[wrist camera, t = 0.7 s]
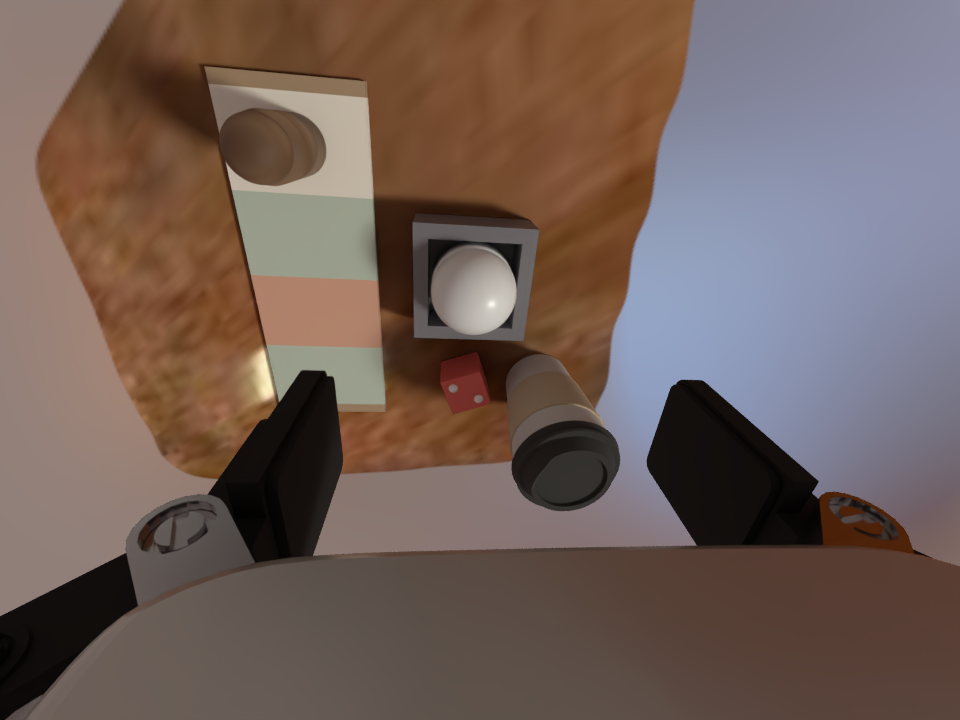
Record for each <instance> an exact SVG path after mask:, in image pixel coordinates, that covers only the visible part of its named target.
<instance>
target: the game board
mask: <svg viewBox="0 0 960 720" xmlns="http://www.w3.org/2000/svg"><path fill="white" fill-rule="evenodd" d="M204 67H205V71H206V76H207V80H208V85H209V89H210V94H211V98H212V103H213V107H214V112H215V116H216V121H217V125H218V130H219V133H220V129H221V127H222V125H223V123H224V122H225V121H226V119H227V118H229V117H230V116H231V115H233V114H235V113H238V112H242V111H244V110H246V109H250V108H263V109H271V110H280V111H288V112H295V113H299V114H302V115H304V116H306V117H307V118H309V119H310V120H311V121H312V122H313V123H314V124H315V125H316V126H317V127H318V128H319V130H320V131H321V133H322V135H323V138H324V140H325V144H326V159H325V162H324V164H323V166H322V168H321V169H320V170H319V171H318V172H317V173H315V174H314V175H312V176H309V177H305V178H302V179H299V180H296V181H293V182H290V183H287V184H284V185H281V186H268V185H258V184H254V183H251V182H248V181H246V180H244V179H243V178H241V177H240V176H238V175H237V174H236V173H235V172H234V171H233V170H232V169H231V168H230V167H229V166H228V164H227V163H226V166H227V170H228V175H229V179H230V183H231V188H232V192H233V197H234V201H235V206H236V210H237V215H238V219H239V224H240V228H241V233H242V237H243V242H244V246H245V251H246V255H247V260H248V264H249V269H250V273H251V278H252V282H253V287H254V291H255V296H256V300H257V304H258V309H259V313H260V318H261V322H262V327H263V331H264V336H265V340H266V345H267V349H268V354H269V358H270V363H271V367H272V372H273V376H274V381H275V385H276V390H277V394H278V399H279V402H280V400H281V399H282V398H283V396H284V395H285V393H286V392H287V390H288V389H289V387H290V386H291V384H292V383H293V381H294V380H295V378H296V377H297V375H298V374H299V373H300V371H301V370H320V371H325V372H326V373H327V376H333V377H334V381H335V389H336V398H337V407H338V411H358V412H385V411H386V399H385V382H384V365H383V348H382V331H381V313H380V296H379V279H378V262H377V245H376V228H375V211H374V193H373V176H372V159H371V142H370V125H369V108H368V91H367V82H366V81H357V80H346V79H335V78H325V77H314V76H303V75H292V74H282V73H271V72H260V71H249V70H239V69H228V68H217V67H206V66H204Z"/></svg>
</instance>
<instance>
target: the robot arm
mask: <svg viewBox="0 0 960 720" xmlns="http://www.w3.org/2000/svg"><path fill="white" fill-rule="evenodd" d="M342 465H343V453H342V443H341V434H340V425H339V416H338V407H337V398H336V389H335V381H334V377H333V376H327V373H326V372H325V371H320V370H301V371H300V373H299V374H298V375H297V377H296V378H295V380H294V381H293V383H292V384H291V386H290V387H289V389H288V390H287V392H286V393H285V395H284V396H283V398H282V399H281V400H280V402H279V403H278V405H277V406H276V408H275V409H274V411H273V412H272V414H271V415H270V417H269V418H268V419H264V420H261V421H260V422H259V423H258V424H257V425H256V427H255V428H254V430H253V431H252V432H251V434H250V435H249V437H248V438H247V440H246V441H245V442H244V444H243V445H242V447H241V448H240V449H239V451H238V452H237V454H236V455H235V457H234V458H233V459H232V461H231V462H230V464H229V465H228V466H227V468H226V469H225V471H224V472H223V473H222V475H221V476H220V478H219V479H218V481H217V482H216V483H215V485H214V486H213V488H212V489H211V491H210V492H209V493H208V495H200V494H198V495H191V496H185V497H181V498H178V499H175V500H172V501H170V502H168V503H166V504H164V505H162V506H160V507H158V508H156V509H154V510H153V511H151V512H150V513H149V514H147V515H146V516H145V517H143V518H142V519H141V520H140V521H139V522H138V523H137V524H136V525H135V526H134V527H133V528H132V530H131V532H130V534H129V536H128V537H127V539H126V553H125V554H123V555H121V556H119V557H117V558H115V559H113V560H111V561H109V562H107V563H105V564H103V565H101V566H99V567H97V568H95V569H93V570H91V571H89V572H87V573H86V574H83V575H81V576H79V577H78V578H75V579H73V580H71V581H69V582H68V583H66V584H63V585H62V586H59V587H58V588H56V589H54V590H52V591H50V592H48V593H46V594H44V595H42V596H40V597H38V598H36V599H34V600H32V601H30V602H28V603H26V604H24V605H22V606H20V607H18V608H16V609H14V610H12V611H10V612H8V613H6V614H4V615H2V616H0V720H960V566H957V565H954V564H951V563H947V562H943V561H940V560H936V559H933V558H931V557H929V556H927V555H925V554H922V553H920V552H918V551H916V550H913V548H912V545H911V542H910V539H909V536H908V534H907V532H906V531H905V529H904V528H903V527H902V526H901V524H899V522H897V521H896V519H894V518H893V517H892V516H890V515H889V514H887V513H886V512H885V511H884V510H882V509H880V508H879V507H877V506H875V505H873V504H871V503H870V502H867V501H865V500H863V499H861V498H858V497H855V496H852V495H849V494H846V493H840V492H826V493H824V494H822V495H821V496H820V498H819V499H817V497H815V496H814V495H813V494H812V492H813V490H814V489H815V487H816V485H817V484H818V480H817V479H815V478H814V477H813V476H812V475H811V474H810V473H809V472H807V471H806V470H805V469H804V468H803V467H802V466H800V465H799V464H798V463H797V462H796V461H795V460H793V459H792V458H791V457H790V456H789V455H788V454H787V453H786V452H784V451H783V450H782V449H781V448H780V447H779V446H778V445H776V444H775V443H774V442H773V441H772V440H771V439H770V438H768V437H767V436H766V435H765V434H764V433H763V432H761V431H760V430H759V429H758V428H757V427H756V426H754V425H753V424H752V423H751V422H750V421H749V420H748V419H746V418H745V417H744V416H743V415H742V414H741V413H740V412H739V411H737V410H736V409H735V408H734V407H733V406H732V405H730V404H729V403H728V402H727V401H726V400H725V399H724V398H723V397H721V396H720V395H719V394H718V393H717V392H716V391H714V390H713V389H712V388H711V387H710V386H709V385H708V384H706V383H705V382H704V381H702V380H680V381H678V382H677V384H676V385H673V386H672V387H671V389H670V392H669V394H668V397H667V400H666V403H665V406H664V409H663V412H662V415H661V418H660V421H659V424H658V427H657V430H656V433H655V436H654V439H653V442H652V445H651V448H650V451H649V454H648V457H647V467H648V470H649V472H650V473H651V475H652V476H653V478H654V479H655V481H656V483H657V484H658V486H659V487H660V489H661V490H662V492H663V493H664V495H665V497H666V498H667V500H668V501H669V503H670V504H671V506H672V507H673V509H674V511H675V512H676V514H677V515H678V517H679V518H680V520H681V521H682V523H683V524H684V526H685V527H686V529H687V531H688V532H689V534H690V535H691V537H692V538H693V540H694V541H695V543H696V545H697V546H645V547H644V546H642V547H590V548H589V547H587V548H534V549H493V550H450V551H411V552H381V553H354V554H335V555H320V556H313V554H314V550H315V548H316V545H317V542H318V539H319V535H320V533H321V530H322V527H323V524H324V521H325V518H326V515H327V512H328V509H329V506H330V503H331V500H332V497H333V494H334V491H335V488H336V485H337V482H338V479H339V476H340V473H341V470H342Z"/></svg>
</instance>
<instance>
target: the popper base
mask: <svg viewBox="0 0 960 720" xmlns="http://www.w3.org/2000/svg"><path fill="white" fill-rule="evenodd" d="M538 235H539V229H538V228H537V227H536V226H535V225H534V224H533V223H532V221H531V220H523V219H506V218H490V217H474V216H457V215H441V214H425V213H416V214H415V217H414V220H413V293H414V338H441V339H474V340H507V341H524V334H525V327H526V319H527V312H528V305H529V298H530V291H531V284H532V277H533V270H534V263H535V256H536V249H537V242H538ZM465 241H475V242H484V243H487V244H489V245H491V246H493V247H495V248H496V249H497V250H498V251H500V252H501V254H502V255H503V256H504V257H505V259H506V260H507V262H508V264H509V266H510V269H511V271H512V273H513V275H514V278H515V282H516V289H517V294H516V301H515V305H514V308H513V310H512V312H511V314H510V315H509V317H508V318H507V320H506V321H505V322H504V323H503V324H502V325H501V326H499V327H498V328H496V329H495V330H493V331H490V332H488V333H485V334H480V335H468V334H463V333H460V332H457V331H455V330H453V329H451V328H450V327H448V326H447V325H446V324H445V323H444V322H443V321H442V320H441V319H440V317H439V316H438V315H437V313H436V311H435V309H434V306H433V303H432V298H431V284H432V274H433V269H434V267H435V264H436V262H437V260H438V259H439V257H440V256H441V255H442V254H443V253H444V252H445V251H446V250H447V249H448V248H450V247H451V246H453V245H455V244H458V243H461V242H465Z"/></svg>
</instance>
